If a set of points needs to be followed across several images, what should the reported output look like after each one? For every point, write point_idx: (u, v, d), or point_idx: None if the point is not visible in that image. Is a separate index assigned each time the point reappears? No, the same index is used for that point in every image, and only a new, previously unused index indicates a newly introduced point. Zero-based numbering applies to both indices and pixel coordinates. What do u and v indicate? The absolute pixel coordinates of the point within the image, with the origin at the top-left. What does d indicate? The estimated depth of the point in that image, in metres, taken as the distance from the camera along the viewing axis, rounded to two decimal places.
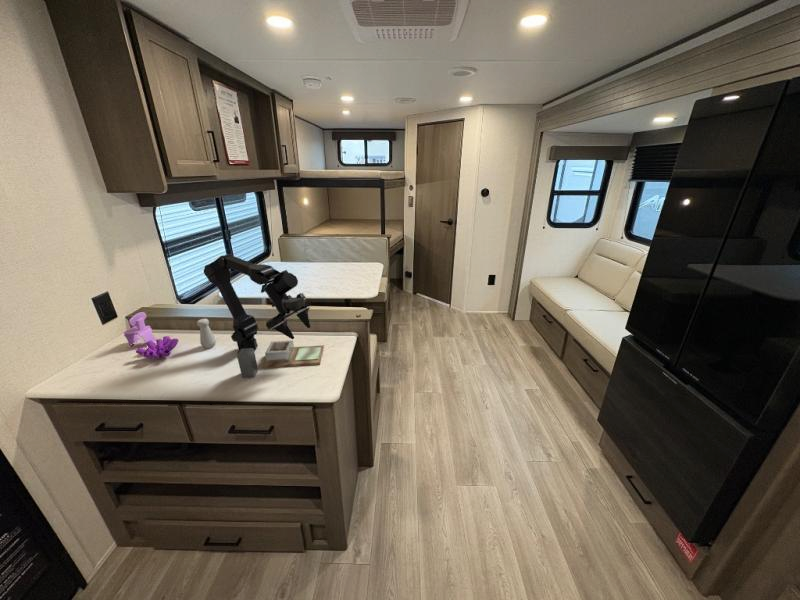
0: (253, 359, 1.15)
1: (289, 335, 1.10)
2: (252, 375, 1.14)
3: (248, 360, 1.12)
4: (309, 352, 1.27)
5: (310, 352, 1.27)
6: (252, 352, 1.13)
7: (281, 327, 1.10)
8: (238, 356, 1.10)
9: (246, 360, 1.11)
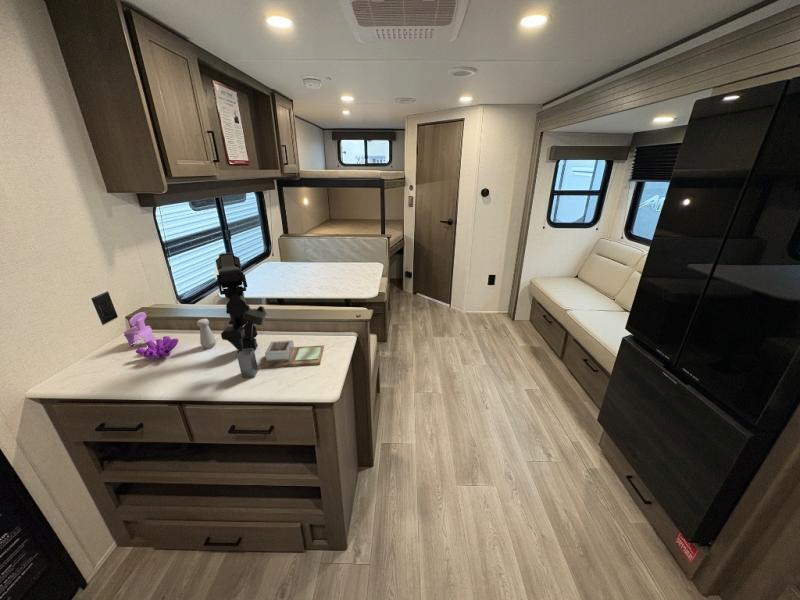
0: (253, 359, 1.15)
1: (239, 347, 1.06)
2: (252, 375, 1.14)
3: (248, 360, 1.12)
4: (309, 352, 1.27)
5: (310, 352, 1.27)
6: (252, 352, 1.14)
7: None
8: (238, 356, 1.10)
9: (246, 360, 1.11)
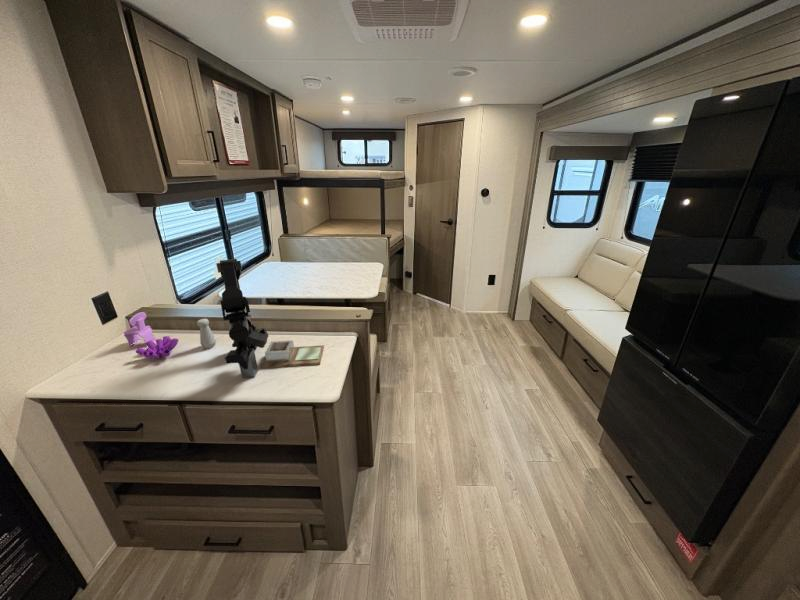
0: (253, 359, 1.15)
1: (244, 366, 1.11)
2: (252, 375, 1.14)
3: (248, 360, 1.12)
4: (309, 352, 1.27)
5: (310, 352, 1.27)
6: (252, 352, 1.13)
7: None
8: None
9: None
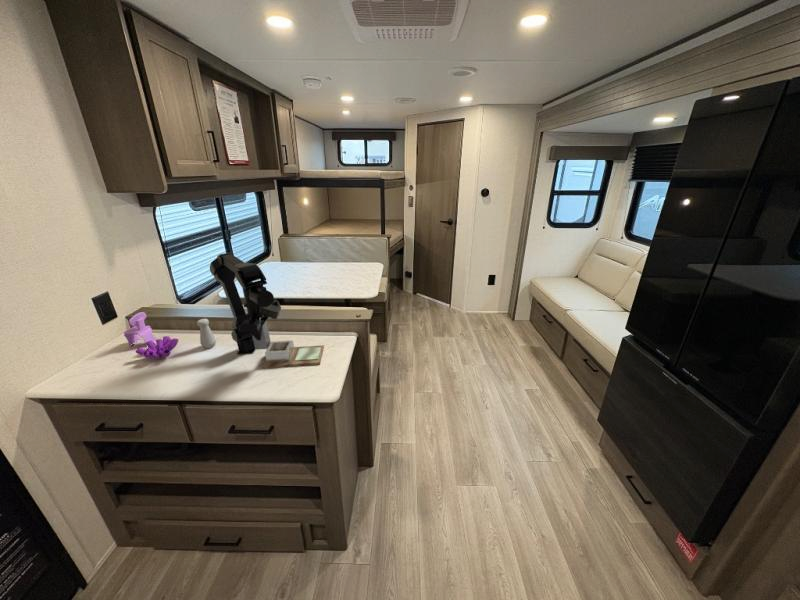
0: (266, 331, 1.16)
1: (257, 336, 1.13)
2: (265, 347, 1.16)
3: (261, 331, 1.13)
4: (309, 352, 1.27)
5: (310, 352, 1.27)
6: (265, 324, 1.15)
7: None
8: None
9: None
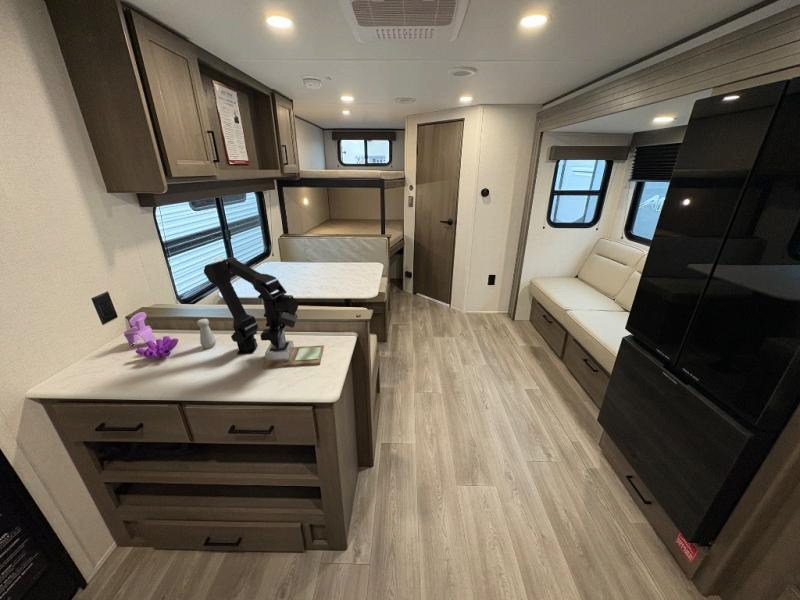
0: (284, 339, 1.24)
1: (276, 344, 1.20)
2: None
3: (279, 339, 1.21)
4: (309, 352, 1.27)
5: (310, 352, 1.27)
6: (283, 332, 1.23)
7: None
8: None
9: None
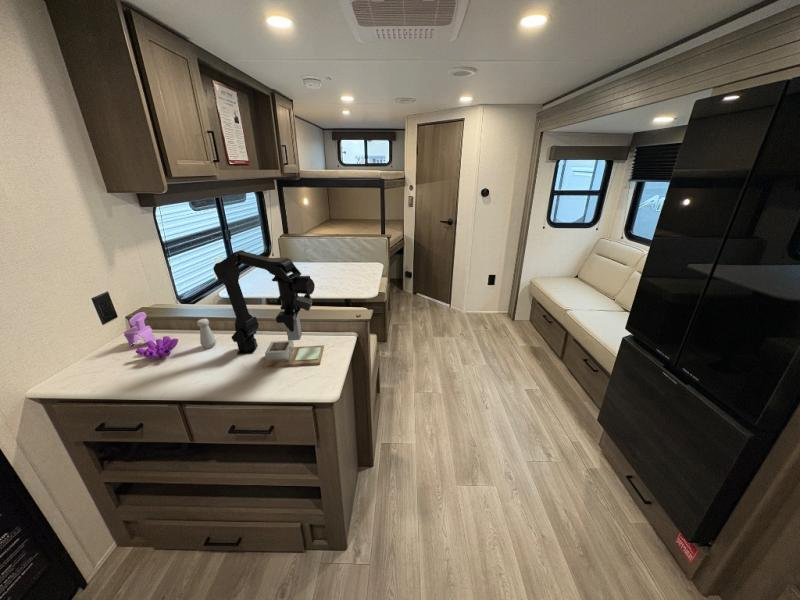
0: (298, 323, 1.21)
1: (291, 328, 1.18)
2: (297, 338, 1.21)
3: (294, 323, 1.18)
4: (309, 352, 1.27)
5: (310, 352, 1.27)
6: (297, 316, 1.20)
7: None
8: None
9: None
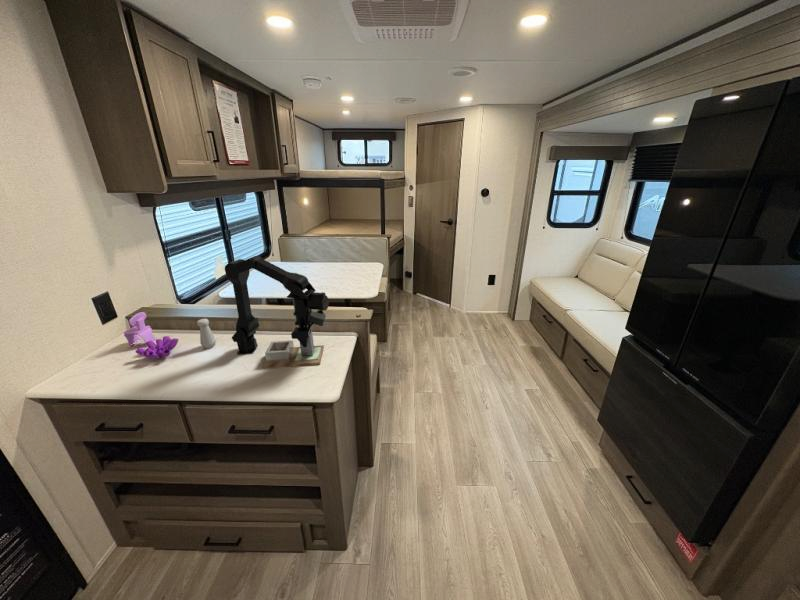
0: (312, 340, 1.25)
1: (304, 344, 1.21)
2: (311, 354, 1.25)
3: (308, 340, 1.22)
4: None
5: None
6: (311, 333, 1.24)
7: None
8: None
9: None
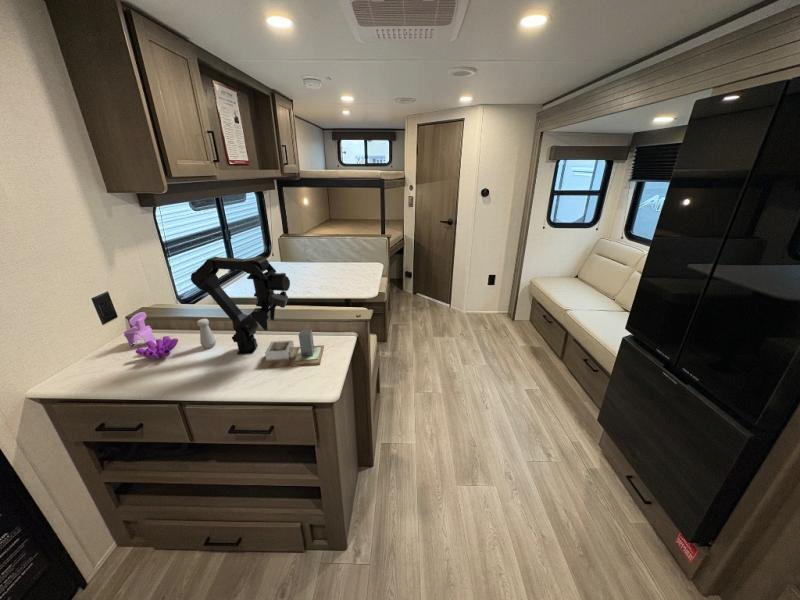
0: (312, 340, 1.25)
1: (265, 327, 1.20)
2: (311, 354, 1.25)
3: (308, 340, 1.22)
4: None
5: None
6: (311, 333, 1.24)
7: (261, 318, 1.18)
8: (300, 336, 1.21)
9: (306, 340, 1.22)
